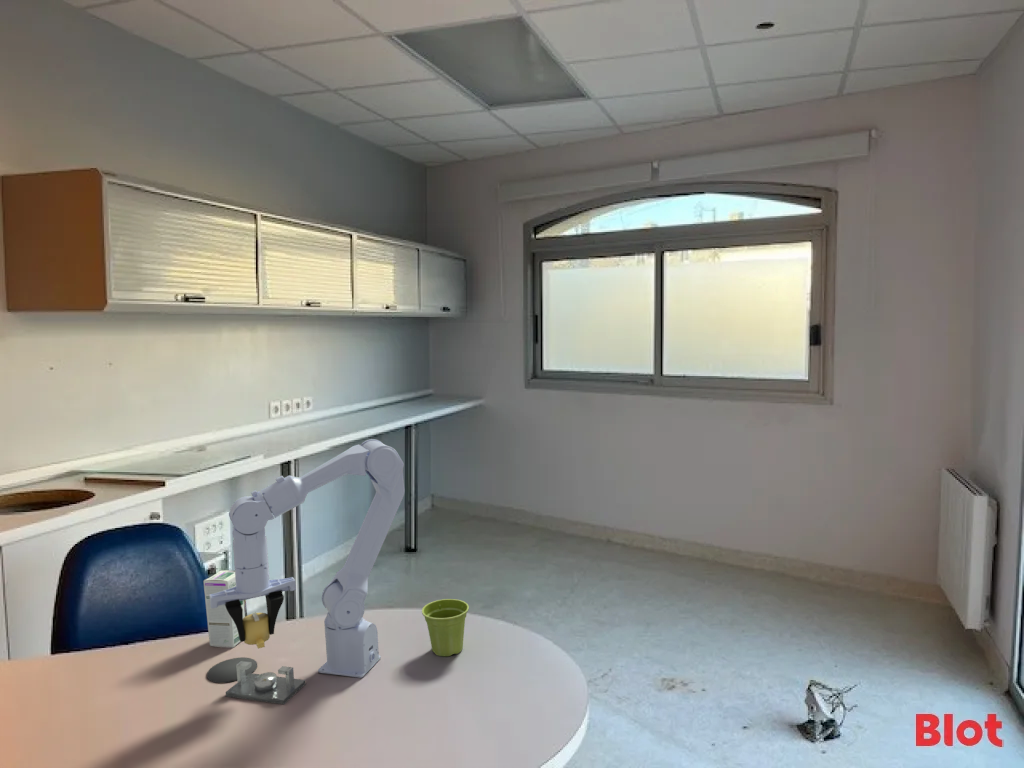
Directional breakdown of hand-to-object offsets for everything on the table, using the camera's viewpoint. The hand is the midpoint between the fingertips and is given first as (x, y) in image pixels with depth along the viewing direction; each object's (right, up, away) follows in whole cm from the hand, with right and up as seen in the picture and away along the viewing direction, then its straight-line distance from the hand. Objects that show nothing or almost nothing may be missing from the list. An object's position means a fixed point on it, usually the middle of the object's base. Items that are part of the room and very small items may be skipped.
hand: (256, 635), depth 125 cm
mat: (-7, -9, +7) cm, 14 cm away
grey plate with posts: (+2, -10, 0) cm, 10 cm away
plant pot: (+34, -8, +13) cm, 37 cm away
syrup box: (-13, -9, +20) cm, 25 cm away
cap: (0, -1, 0) cm, 1 cm away
